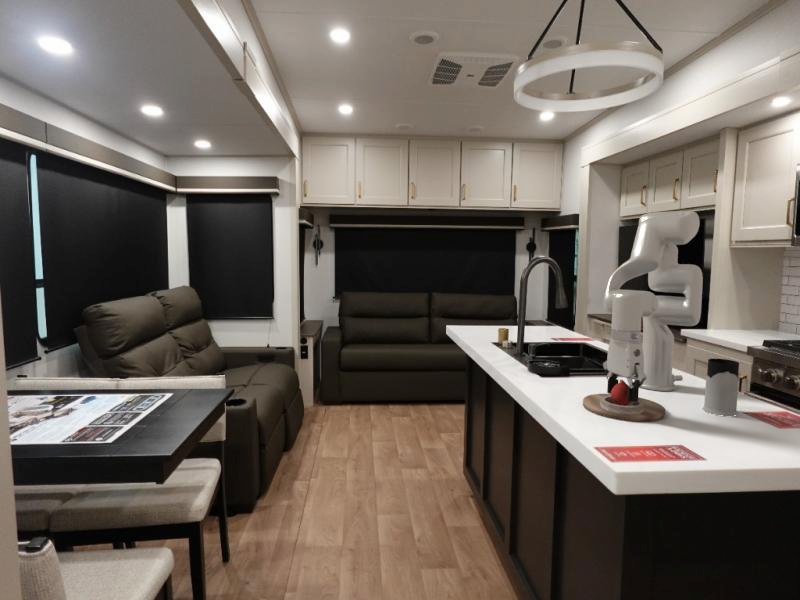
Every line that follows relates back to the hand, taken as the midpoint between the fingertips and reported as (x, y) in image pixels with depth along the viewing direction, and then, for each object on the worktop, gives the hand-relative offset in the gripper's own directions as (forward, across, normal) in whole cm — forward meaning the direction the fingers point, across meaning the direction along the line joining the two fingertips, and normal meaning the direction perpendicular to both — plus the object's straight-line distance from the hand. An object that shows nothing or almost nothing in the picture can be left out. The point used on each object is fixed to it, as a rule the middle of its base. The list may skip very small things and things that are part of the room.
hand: (622, 396), depth 138 cm
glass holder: (+5, -3, -31) cm, 32 cm away
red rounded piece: (+3, 0, 0) cm, 3 cm away
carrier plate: (+5, +3, -3) cm, 6 cm away
